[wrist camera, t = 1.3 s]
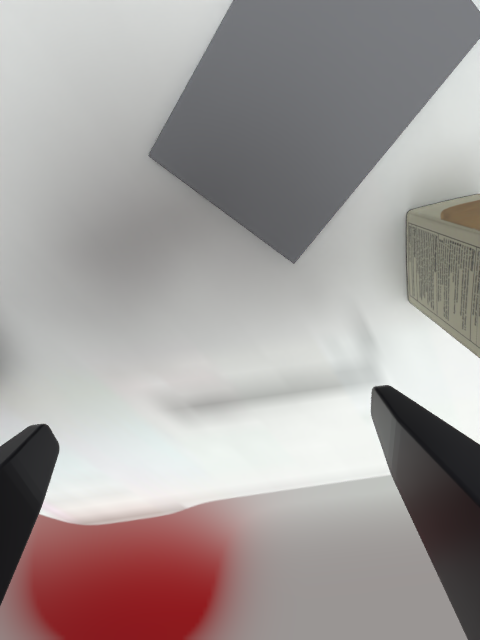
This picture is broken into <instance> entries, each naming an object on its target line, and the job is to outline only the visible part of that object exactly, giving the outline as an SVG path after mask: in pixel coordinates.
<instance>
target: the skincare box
mask: <svg viewBox="0 0 480 640" xmlns="http://www.w3.org/2000/svg"><path fill="white" fill-rule="evenodd" d="M407 276H408V296H409V302H410V303H411V304H412V305H413V306H415V307H416V308H417V309H419V310H420V311H421V312H422V313H423V314H425V315H426V316H427V317H429V318H430V319H431V320H432V321H434V322H435V323H436V324H437V325H439V326H440V327H441V328H442V329H444V330H445V331H446V332H447V333H449V334H450V335H451V336H452V337H454V338H455V339H456V340H457V341H459V342H460V343H461V344H462V345H464V346H465V347H466V348H468V349H469V350H470V351H471V352H473V353H474V354H475V355H476V356H478V357H479V358H480V194H476V195H471V196H467V197H462V198H457V199H453V200H448V201H444V202H440V203H436V204H432V205H428V206H424V207H420V208H416V209H412V210H410V211H409V212H408V214H407Z"/></svg>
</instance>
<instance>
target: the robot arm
mask: <svg viewBox="0 0 480 640" xmlns="http://www.w3.org/2000/svg"><path fill="white" fill-rule="evenodd" d="M371 416H372V419H373V422H374V425H375V428H376V431H377V434H378V437H379V440H380V443H381V446H382V449H383V452H384V455H385V458H386V461H387V464H388V467H389V470H390V472H391V475H392V477H393V479H394V482H395V484H396V486H397V488H398V490H399V493H400V495H401V497H402V499H403V501H404V503H405V505H406V508H407V510H408V512H409V514H410V516H411V518H412V520H413V523H414V525H415V527H416V529H417V531H418V533H419V536H420V538H421V539H422V542H423V544H424V546H425V548H426V551H427V553H428V555H429V557H430V559H431V561H432V563H433V565H434V568H435V570H436V572H437V574H438V576H439V578H440V580H441V583H442V585H443V587H444V589H445V591H446V593H447V595H448V598H449V600H450V602H451V604H452V606H453V608H454V611H455V613H456V615H457V617H458V619H459V621H460V623H461V626H462V628H463V630H464V632H465V634H466V636H467V639H468V640H480V444H478V443H476V442H475V441H473V440H472V439H470V438H469V437H467V436H466V435H464V434H463V433H461V432H460V431H458V430H457V429H455V428H454V427H452V426H451V425H449V424H448V423H446V422H445V421H443V420H442V419H440V418H439V417H437V416H435V415H434V414H432V413H431V412H429V411H428V410H426V409H425V408H423V407H422V406H420V405H419V404H417V403H416V402H414V401H413V400H411V399H410V398H408V397H407V396H405V395H404V394H402V393H401V392H399V391H397V390H396V389H394V388H393V387H391V386H389V385H383V386H375V387H373V389H372V397H371ZM58 454H59V443H58V441H57V440H56V438H55V436H54V434H53V433H52V431H51V429H50V427H49V426H48V425H46V424H37V425H31V426H29V427H27V428H26V429H24V430H23V431H22V432H20V433H19V434H17V435H16V436H15V437H13V438H12V439H10V440H9V441H7V442H6V443H5V444H3V445H2V446H0V605H1V603H2V601H3V598H4V596H5V594H6V591H7V589H8V586H9V584H10V582H11V579H12V577H13V574H14V572H15V570H16V567H17V565H18V563H19V560H20V558H21V555H22V553H23V551H24V548H25V546H26V543H27V541H28V539H29V536H30V534H31V531H32V529H33V527H34V524H35V522H36V519H37V517H38V515H39V512H40V510H41V507H42V504H43V501H44V498H45V495H46V492H47V489H48V486H49V483H50V479H51V476H52V473H53V470H54V467H55V464H56V460H57V457H58Z"/></svg>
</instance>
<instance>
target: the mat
mask: <svg viewBox="0 0 480 640" xmlns="http://www.w3.org/2000/svg"><path fill="white" fill-rule="evenodd" d="M479 39H480V11H479V10H478V9H477V7H476V6H475V5H474V3H473V2H472V0H233V2H232V4H231V6H230V8H229V9H228V11H227V13H226V15H225V17H224V18H223V20H222V22H221V24H220V26H219V28H218V29H217V31H216V33H215V35H214V37H213V39H212V40H211V42H210V44H209V46H208V48H207V49H206V51H205V53H204V55H203V57H202V59H201V60H200V62H199V64H198V66H197V68H196V69H195V71H194V73H193V75H192V77H191V79H190V80H189V82H188V84H187V86H186V88H185V90H184V91H183V93H182V95H181V97H180V99H179V100H178V102H177V104H176V106H175V108H174V110H173V111H172V113H171V115H170V117H169V119H168V120H167V122H166V124H165V126H164V128H163V130H162V131H161V133H160V135H159V137H158V139H157V141H156V142H155V144H154V146H153V148H152V150H151V151H150V153H149V155H148V156H149V157H151V158H152V159H153V160H155V161H156V162H157V163H159V164H160V165H161V166H163V167H164V168H165V169H167V170H168V171H169V172H171V173H172V174H174V175H175V176H176V177H178V178H179V179H180V180H182V181H183V182H184V183H186V184H187V185H188V186H190V187H191V188H192V189H194V190H195V191H196V192H198V193H199V194H201V195H202V196H203V197H205V198H206V199H207V200H209V201H210V202H211V203H213V204H214V205H215V206H217V207H218V208H219V209H221V210H222V211H223V212H225V213H226V214H227V215H229V216H230V217H232V218H233V219H234V220H236V221H237V222H238V223H240V224H241V225H242V226H244V227H245V228H246V229H248V230H249V231H250V232H252V233H253V234H254V235H256V236H257V237H259V238H260V239H261V240H263V241H264V242H265V243H267V244H268V245H269V246H271V247H272V248H273V249H275V250H276V251H277V252H279V253H280V254H281V255H283V256H284V257H286V258H287V259H288V260H290V261H291V262H292V263H295V262H296V261H297V260H298V258H299V257H300V256H301V255H302V253H303V252H304V251H305V250H306V249H307V247H308V246H309V245H310V244H311V243H312V241H313V240H314V239H315V238H316V236H317V235H318V234H319V233H320V232H321V230H322V229H323V228H324V227H325V226H326V224H327V223H328V222H329V221H330V220H331V218H332V217H333V216H334V215H335V213H336V212H337V211H338V210H339V209H340V207H341V206H342V205H343V204H344V203H345V201H346V200H347V199H348V198H349V196H350V195H351V194H352V193H353V192H354V190H355V189H356V188H357V187H358V186H359V184H360V183H361V182H362V181H363V179H364V178H365V177H366V176H367V175H368V173H369V172H370V171H371V170H372V169H373V167H374V166H375V165H376V164H377V162H378V161H379V160H380V159H381V158H382V156H383V155H384V154H385V153H386V152H387V150H388V149H389V148H390V147H391V145H392V144H393V143H394V142H395V141H396V139H397V138H398V137H399V136H400V135H401V133H402V132H403V131H404V130H405V128H406V127H407V126H408V125H409V124H410V122H411V121H412V120H413V119H414V118H415V116H416V115H417V114H418V113H419V111H420V110H421V109H422V108H423V107H424V105H425V104H426V103H427V102H428V101H429V99H430V98H431V97H432V96H433V95H434V93H435V92H436V91H437V90H438V88H439V87H440V86H441V85H442V84H443V82H444V81H445V80H446V79H447V78H448V76H449V75H450V74H451V73H452V71H453V70H454V69H455V68H456V67H457V65H458V64H459V63H460V62H461V61H462V59H463V58H464V57H465V56H466V54H467V53H468V52H469V51H470V50H471V48H472V47H473V46H474V45H475V44H476V42H477V41H478V40H479Z"/></svg>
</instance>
